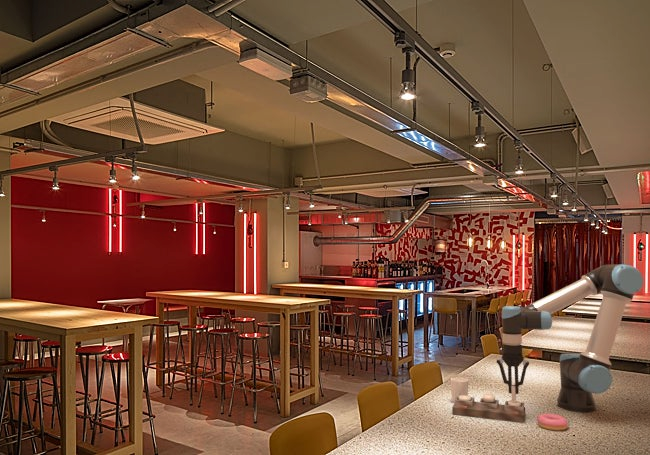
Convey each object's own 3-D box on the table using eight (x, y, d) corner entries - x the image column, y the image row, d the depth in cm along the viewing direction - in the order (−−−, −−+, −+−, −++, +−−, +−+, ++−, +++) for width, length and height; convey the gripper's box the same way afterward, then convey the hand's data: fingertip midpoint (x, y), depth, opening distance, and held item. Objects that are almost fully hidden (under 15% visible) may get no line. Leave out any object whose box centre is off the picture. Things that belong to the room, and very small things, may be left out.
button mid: (495, 399, 206) (495, 394, 206) (494, 402, 201) (494, 397, 201) (483, 398, 208) (483, 393, 208) (482, 401, 203) (481, 396, 203)
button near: (521, 406, 202) (521, 401, 202) (520, 409, 197) (520, 404, 197) (508, 404, 204) (508, 399, 204) (507, 407, 199) (507, 402, 199)
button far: (471, 400, 210) (471, 395, 210) (469, 403, 205) (469, 398, 205) (459, 399, 212) (459, 394, 212) (457, 402, 207) (457, 397, 207)
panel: (525, 414, 202) (525, 402, 203) (524, 423, 192) (524, 410, 192) (457, 406, 214) (456, 394, 214) (452, 414, 203) (452, 402, 203)
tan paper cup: (469, 404, 217) (469, 381, 217) (451, 403, 218) (450, 381, 219) (468, 399, 224) (467, 377, 225) (450, 398, 226) (449, 377, 226)
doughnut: (566, 434, 180) (566, 422, 180) (534, 428, 186) (534, 417, 186) (569, 425, 189) (569, 414, 190) (539, 420, 195) (538, 410, 195)
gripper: (529, 343, 203) (531, 400, 201) (496, 341, 208) (498, 397, 206) (528, 346, 196) (530, 405, 194) (494, 344, 201) (496, 402, 200)
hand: (513, 401), depth 200 cm, fingers closed
